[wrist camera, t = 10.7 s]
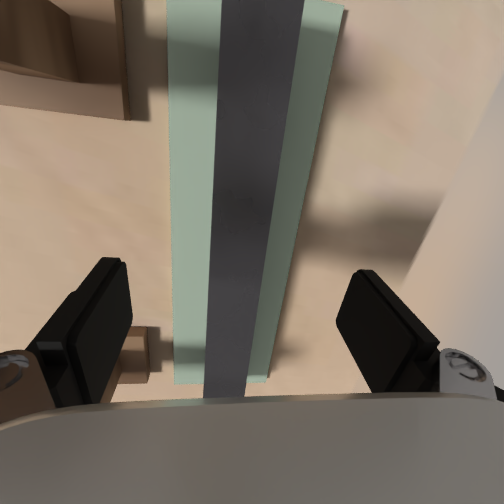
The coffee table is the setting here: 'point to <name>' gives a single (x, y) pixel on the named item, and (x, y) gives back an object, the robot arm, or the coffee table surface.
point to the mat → (202, 171)
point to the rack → (72, 92)
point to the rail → (245, 176)
